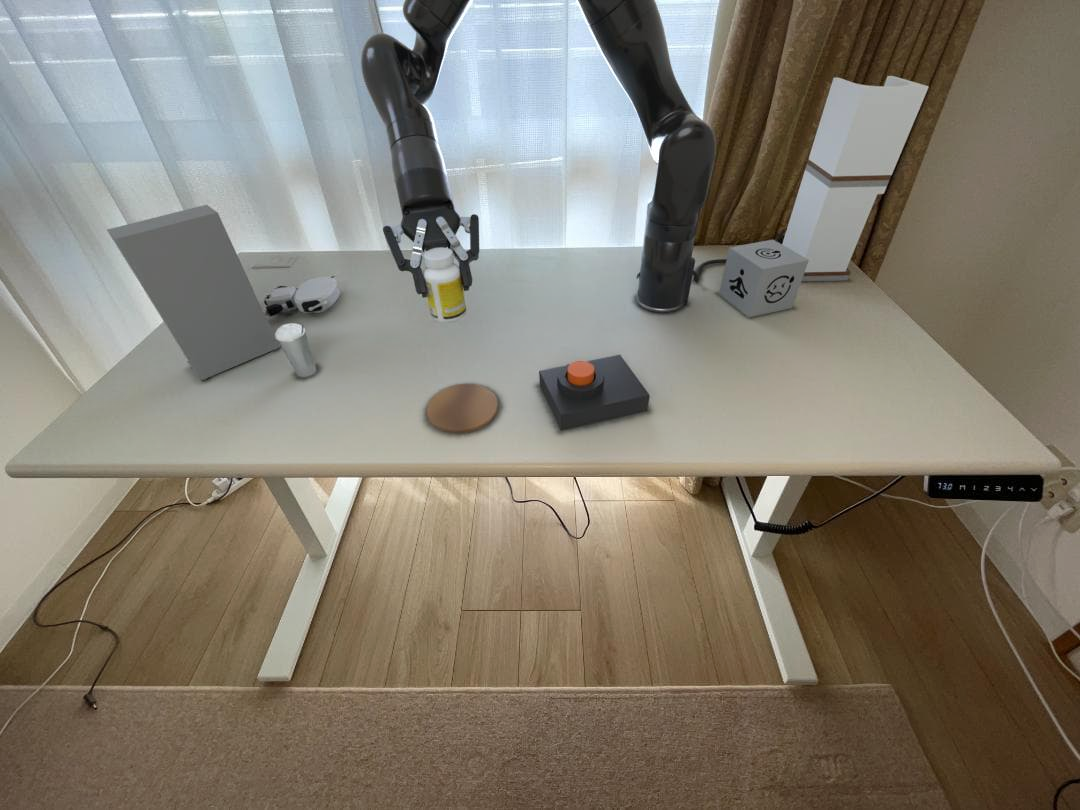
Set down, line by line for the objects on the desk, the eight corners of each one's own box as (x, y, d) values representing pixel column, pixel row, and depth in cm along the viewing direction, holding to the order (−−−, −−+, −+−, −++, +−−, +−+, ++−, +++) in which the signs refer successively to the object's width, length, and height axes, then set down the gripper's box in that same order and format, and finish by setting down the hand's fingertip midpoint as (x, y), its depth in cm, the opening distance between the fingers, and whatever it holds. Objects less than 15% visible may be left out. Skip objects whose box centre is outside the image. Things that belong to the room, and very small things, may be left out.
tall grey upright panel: (268, 335, 94) (205, 203, 78) (281, 348, 91) (218, 212, 74) (190, 367, 87) (104, 228, 71) (201, 381, 84) (113, 239, 67)
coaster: (489, 381, 82) (489, 378, 81) (505, 424, 74) (504, 421, 73) (423, 394, 80) (423, 391, 79) (432, 440, 72) (431, 437, 71)
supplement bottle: (472, 308, 76) (464, 247, 69) (456, 326, 72) (446, 263, 65) (441, 303, 77) (430, 243, 71) (424, 320, 73) (411, 259, 67)
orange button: (588, 367, 76) (588, 358, 75) (597, 383, 73) (598, 373, 72) (563, 372, 75) (564, 363, 74) (572, 388, 72) (572, 379, 71)
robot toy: (262, 330, 97) (337, 318, 98) (251, 310, 94) (328, 298, 95) (279, 299, 107) (347, 289, 107) (269, 280, 104) (339, 270, 104)
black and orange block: (618, 369, 83) (621, 345, 80) (647, 410, 75) (651, 385, 72) (539, 386, 80) (538, 361, 77) (560, 430, 72) (560, 405, 69)
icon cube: (759, 285, 104) (773, 239, 97) (791, 307, 96) (808, 260, 90) (718, 293, 101) (729, 247, 95) (748, 317, 94) (762, 269, 88)
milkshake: (315, 381, 83) (294, 331, 76) (287, 378, 84) (264, 328, 77) (329, 365, 86) (310, 316, 80) (302, 362, 87) (281, 313, 80)
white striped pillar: (847, 280, 104) (928, 86, 81) (796, 281, 104) (863, 88, 81) (824, 257, 113) (892, 75, 90) (777, 258, 113) (833, 77, 90)
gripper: (366, 171, 66) (391, 292, 65) (471, 159, 68) (497, 275, 68) (375, 199, 73) (398, 308, 72) (469, 187, 76) (493, 292, 75)
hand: (445, 292), depth 70 cm, fingers closed on supplement bottle, 5 cm apart
